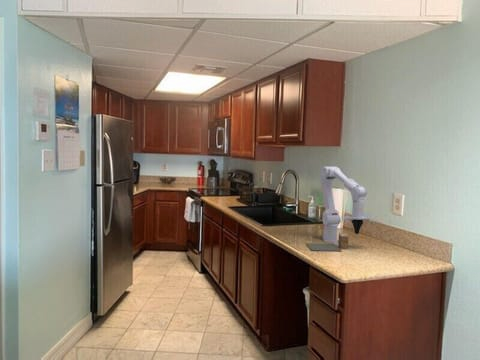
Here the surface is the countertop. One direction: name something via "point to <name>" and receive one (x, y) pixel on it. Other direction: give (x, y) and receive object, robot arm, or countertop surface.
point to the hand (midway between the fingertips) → (356, 233)
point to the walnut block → (343, 240)
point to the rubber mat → (323, 247)
